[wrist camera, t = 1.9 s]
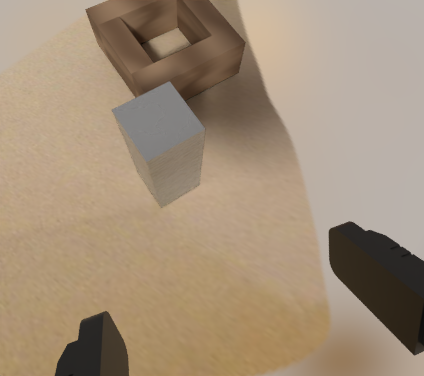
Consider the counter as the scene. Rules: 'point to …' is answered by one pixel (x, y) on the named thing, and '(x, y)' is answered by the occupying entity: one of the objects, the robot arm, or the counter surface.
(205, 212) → the counter surface
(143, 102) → the grey square pillar
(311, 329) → the counter surface
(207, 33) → the well block
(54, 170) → the counter surface
